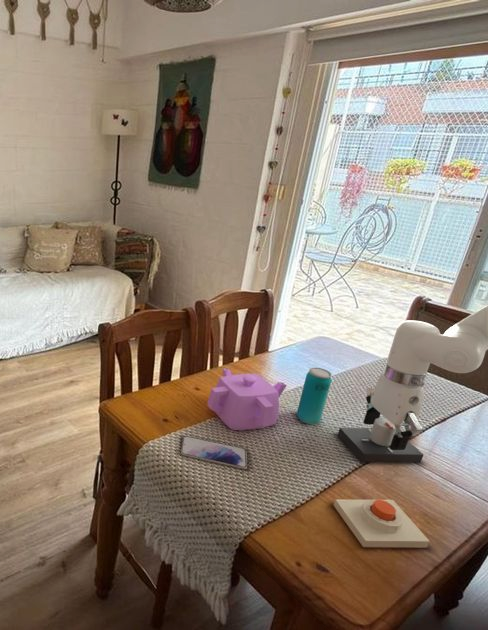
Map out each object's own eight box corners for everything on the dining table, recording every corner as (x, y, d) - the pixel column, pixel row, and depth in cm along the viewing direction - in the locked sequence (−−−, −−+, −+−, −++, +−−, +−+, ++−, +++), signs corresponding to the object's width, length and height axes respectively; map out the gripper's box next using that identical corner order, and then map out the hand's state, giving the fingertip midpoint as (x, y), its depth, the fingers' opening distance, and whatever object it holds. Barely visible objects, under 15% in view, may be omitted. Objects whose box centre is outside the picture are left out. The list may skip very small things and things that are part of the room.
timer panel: (390, 437, 113) (394, 427, 111) (419, 464, 103) (424, 454, 102) (336, 437, 113) (339, 427, 111) (360, 464, 103) (364, 453, 102)
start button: (385, 506, 87) (387, 499, 86) (397, 521, 84) (400, 514, 83) (367, 506, 87) (369, 499, 86) (379, 521, 84) (381, 514, 83)
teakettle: (202, 422, 118) (208, 382, 113) (218, 393, 131) (225, 356, 126) (270, 444, 109) (280, 403, 105) (280, 411, 123) (289, 373, 118)
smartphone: (247, 468, 100) (180, 453, 105) (246, 471, 101) (180, 456, 105) (246, 448, 106) (183, 435, 111) (245, 451, 107) (182, 438, 111)
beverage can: (323, 427, 116) (337, 378, 111) (301, 426, 116) (314, 377, 111) (312, 414, 122) (325, 367, 116) (292, 414, 122) (303, 366, 116)
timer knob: (365, 434, 109) (371, 416, 107) (383, 434, 109) (389, 416, 107) (376, 446, 105) (383, 427, 103) (395, 446, 105) (401, 428, 103)
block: (389, 507, 91) (395, 493, 90) (426, 549, 82) (433, 534, 81) (332, 507, 91) (337, 492, 90) (362, 549, 82) (368, 533, 80)
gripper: (451, 395, 92) (425, 460, 98) (393, 356, 108) (375, 415, 114) (415, 394, 92) (391, 460, 98) (363, 356, 108) (346, 414, 114)
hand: (382, 435), depth 106 cm, fingers open, 9 cm apart
